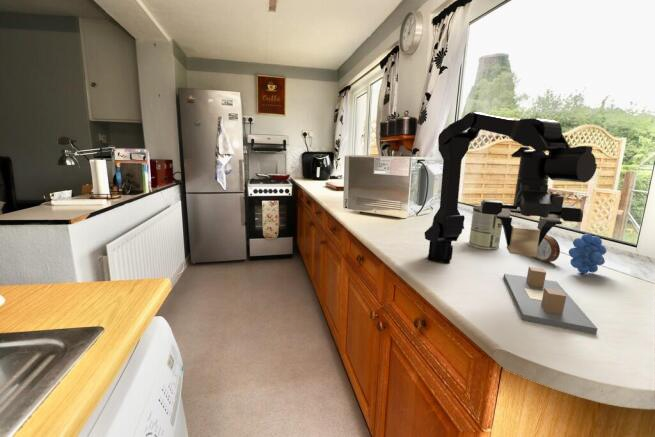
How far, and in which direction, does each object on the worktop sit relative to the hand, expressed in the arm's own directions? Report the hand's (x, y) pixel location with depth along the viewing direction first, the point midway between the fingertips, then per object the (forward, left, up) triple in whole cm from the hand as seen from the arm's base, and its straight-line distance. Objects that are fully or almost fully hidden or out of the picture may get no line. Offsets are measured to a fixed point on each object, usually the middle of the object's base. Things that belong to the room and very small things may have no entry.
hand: (521, 247), depth 70 cm
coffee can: (-2, +44, -12) cm, 46 cm away
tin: (+13, +37, -12) cm, 41 cm away
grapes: (+23, +25, -12) cm, 36 cm away
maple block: (0, 0, -1) cm, 1 cm away
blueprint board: (+6, -1, -12) cm, 13 cm away
